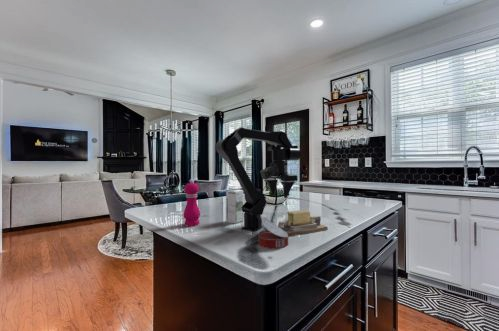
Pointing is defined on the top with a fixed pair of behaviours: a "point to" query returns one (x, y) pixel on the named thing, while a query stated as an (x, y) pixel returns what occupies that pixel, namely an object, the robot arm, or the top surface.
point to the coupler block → (298, 218)
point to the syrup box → (234, 206)
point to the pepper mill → (191, 204)
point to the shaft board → (298, 230)
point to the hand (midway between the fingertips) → (279, 196)
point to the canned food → (272, 236)
